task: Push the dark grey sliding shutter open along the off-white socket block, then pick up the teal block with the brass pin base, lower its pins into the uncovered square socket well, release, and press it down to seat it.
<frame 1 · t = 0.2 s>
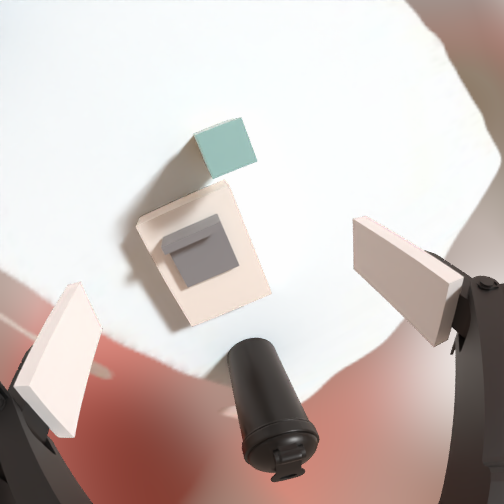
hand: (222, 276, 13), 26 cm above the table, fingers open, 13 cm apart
socket block: (205, 250, 41), on the table
teal block: (214, 142, 36), on the table
shutter: (202, 255, 35), point 6 cm above the table, slide at 0.0 cm
water bottle: (251, 355, 51), on the table
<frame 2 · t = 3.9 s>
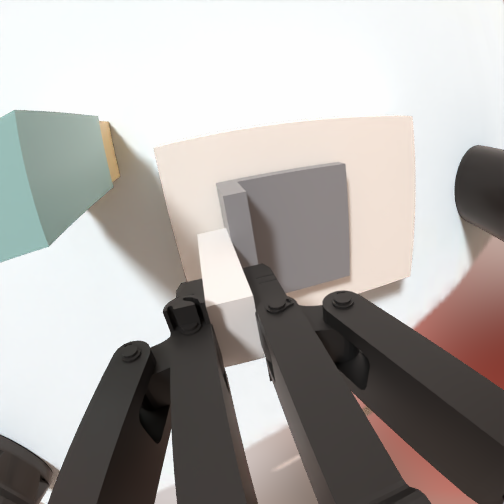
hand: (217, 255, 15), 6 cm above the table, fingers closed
socket block: (291, 206, 21), on the table
teal block: (88, 157, 17), on the table
shutter: (297, 241, 16), point 6 cm above the table, slide at 0.3 cm, touching gripper
water bottle: (476, 183, 25), on the table
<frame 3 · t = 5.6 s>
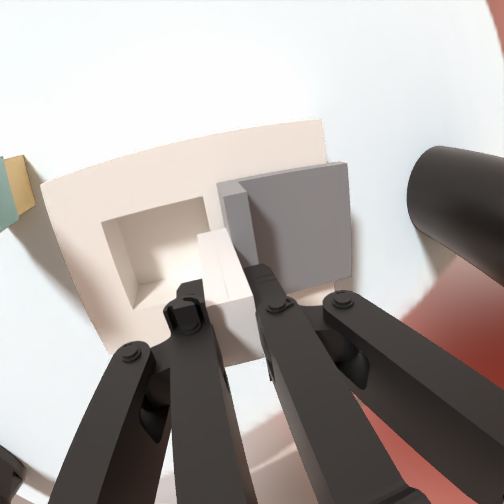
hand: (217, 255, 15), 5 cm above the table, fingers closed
socket block: (195, 227, 20), on the table
teal block: (10, 187, 16), on the table
shutter: (299, 241, 16), point 6 cm above the table, slide at 7.2 cm, touching gripper
water bottle: (437, 190, 23), on the table
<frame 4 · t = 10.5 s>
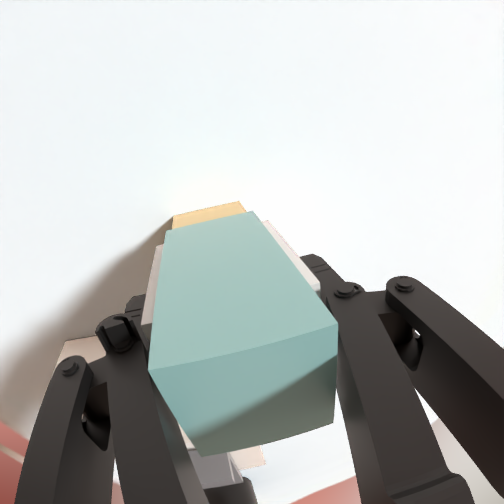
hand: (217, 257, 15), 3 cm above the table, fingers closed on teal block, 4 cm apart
socket block: (172, 400, 22), on the table
teal block: (212, 238, 18), on the table, touching gripper
shutter: (197, 483, 19), point 6 cm above the table, slide at 7.2 cm
water bottle: (220, 485, 31), on the table
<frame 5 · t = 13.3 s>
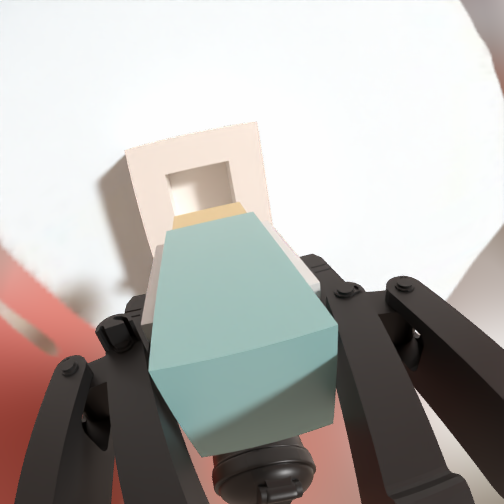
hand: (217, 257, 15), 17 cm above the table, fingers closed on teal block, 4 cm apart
socket block: (204, 207, 31), on the table
teal block: (213, 239, 18), point 14 cm above the table, touching gripper
water bottle: (232, 357, 41), on the table
when the fingers open (5 cm above the table, at t = 16.1 s): teal block drops 2 cm, resting on socket block.
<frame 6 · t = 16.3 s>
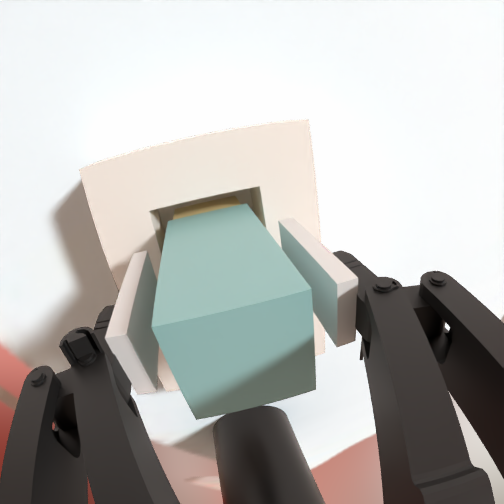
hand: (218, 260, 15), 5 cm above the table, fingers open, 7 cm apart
socket block: (215, 253, 21), on the table
teal block: (210, 230, 19), point 1 cm above the table, touching socket block
water bottle: (250, 426, 30), on the table
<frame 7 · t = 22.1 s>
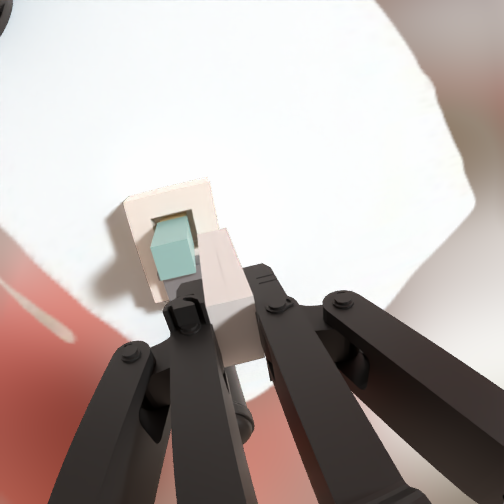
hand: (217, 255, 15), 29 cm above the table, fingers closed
socket block: (179, 237, 45), on the table
teal block: (176, 226, 44), point 1 cm above the table, touching socket block
shutter: (188, 285, 42), point 6 cm above the table, slide at 7.2 cm
water bottle: (205, 343, 54), on the table
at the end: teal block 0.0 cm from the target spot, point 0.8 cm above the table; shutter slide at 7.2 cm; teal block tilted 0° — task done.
